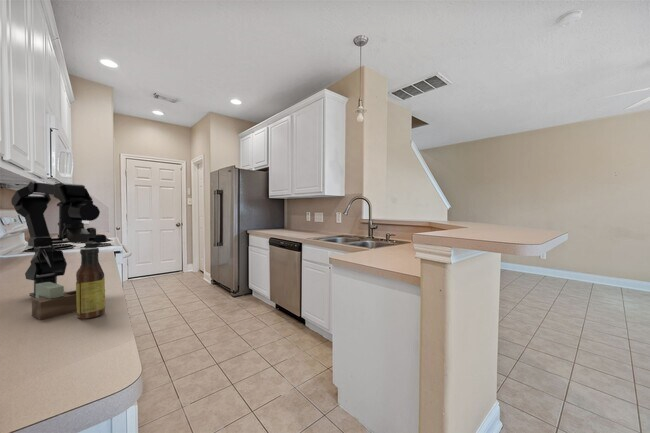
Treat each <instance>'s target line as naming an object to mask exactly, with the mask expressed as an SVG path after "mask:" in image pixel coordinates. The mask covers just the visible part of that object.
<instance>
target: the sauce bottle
mask: <svg viewBox="0 0 650 433" xmlns="http://www.w3.org/2000/svg"><path fill="white" fill-rule="evenodd" d="M79 252H80V255H81V257H80V258H81V259H80V260H81V261H80V266H79V268H78V269H77V271H76V272H75V273H76V274H75V276H76V282H75V290H76V301H77V311H76V314H77V316H76V317H77V318H78V319H82V320H86V319H87V320H88V319H93V318H96V317H99V316H102V315H104V314H105V311H106V289H105V287H106V286H105V284H106V283H105V272H104V271H103V268H102V265H101V264H100V261H99V253H100V250H99V247H96V248H85V247H83V248H81V249H79Z"/></svg>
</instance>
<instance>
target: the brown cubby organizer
mask: <svg viewBox="0 0 650 433" xmlns="http://www.w3.org/2000/svg"><path fill="white" fill-rule="evenodd" d="M73 312H74V313H75V312H77V301H76V289H75V290H70V291H64V296H61V297H59V298H55V299H49V298H46V297H39V298H36V297H33V298H32V299H31V316H32V318H33V317H34V318H35V319H37V320H39V321H42V320H46V319H51V318H55V317H57V316H62V315H67V314H70V313H73Z"/></svg>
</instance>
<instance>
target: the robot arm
mask: <svg viewBox="0 0 650 433" xmlns="http://www.w3.org/2000/svg"><path fill="white" fill-rule="evenodd" d="M34 193H35V194H34ZM37 193H38V194H37ZM40 193H41V194H40ZM43 194H44V195H43ZM50 195H52V196H53V198H55V199H58V200H59V202H58V203H57V204H56V207H58V209H59V210H58V212H59V213H58V222H57V226H58V234H57V237H53V238H52V236H51V235H50V231H49V228H48V224H47V222H46V219H45V218H46V217H45V212H46V210H47V209H48V204H49V203H50V202H51V200H52V199H51V197H50ZM11 205H12V206H13V208H14V210H15V212H16V213H17V214H19V215H20V216H21V217H23V218H24V219H25V222H26V223H25V224H26V226H27V229H28V233H29V237H30V238H28V240H27V246H28V247H31V248H32V247H33V251H34V255H33V256H32V258H31V260H30V265H29V267H28V268H27V269H26V271H25V273H24V274H25V279H26V280H29V281H33V292H29V293H28V294H29V295H30V296H31V297H33V298H36V284H39V283H45V282H52V283H55V284H58V277H60V276H65V273H66V269H67V265H68V263H67V261H66V258H65V256H64V252H63V251H62V250H61V249H59V250H57V249H55V246H54V245H55V244H67V243H70V244H78V243H84V244H85V246H84V248H99V246H102V245H103V243H107V240H108V239H107V235H105V234H104V233H103V234H101V233H97V229H96V227H87V228H85V225H84V222H83V221H85V222H86V221H87V222H90V221H91V222H92V221H95V220H96V219H97V218H99V217H100V213H101V211H100V209H99V207H98V206H97V205H95V204H94V200H93V198H92V196H91V195H90V193H89V191H88V189H87V188H86V186H85V185H84V184H78V183H67V182H66V183H65V182H56V183H49V182H45V181H35V180H34V181H30V182H28V184H27V185H25V186H23V187H22V188H20V189H18V190H16V191H15V192H14V195H12V197H11ZM53 244H54V245H53Z"/></svg>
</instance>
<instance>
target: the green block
mask: <svg viewBox="0 0 650 433" xmlns="http://www.w3.org/2000/svg"><path fill="white" fill-rule="evenodd" d="M64 287H65V286H64V285H60V284H58V283H57V284H55V283H52V282H45V283H39V284H36V297H35V298H39V297H46V298H49V299H55V298H59V297H61V296H64V292H65V291H64V290H65V288H64Z"/></svg>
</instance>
